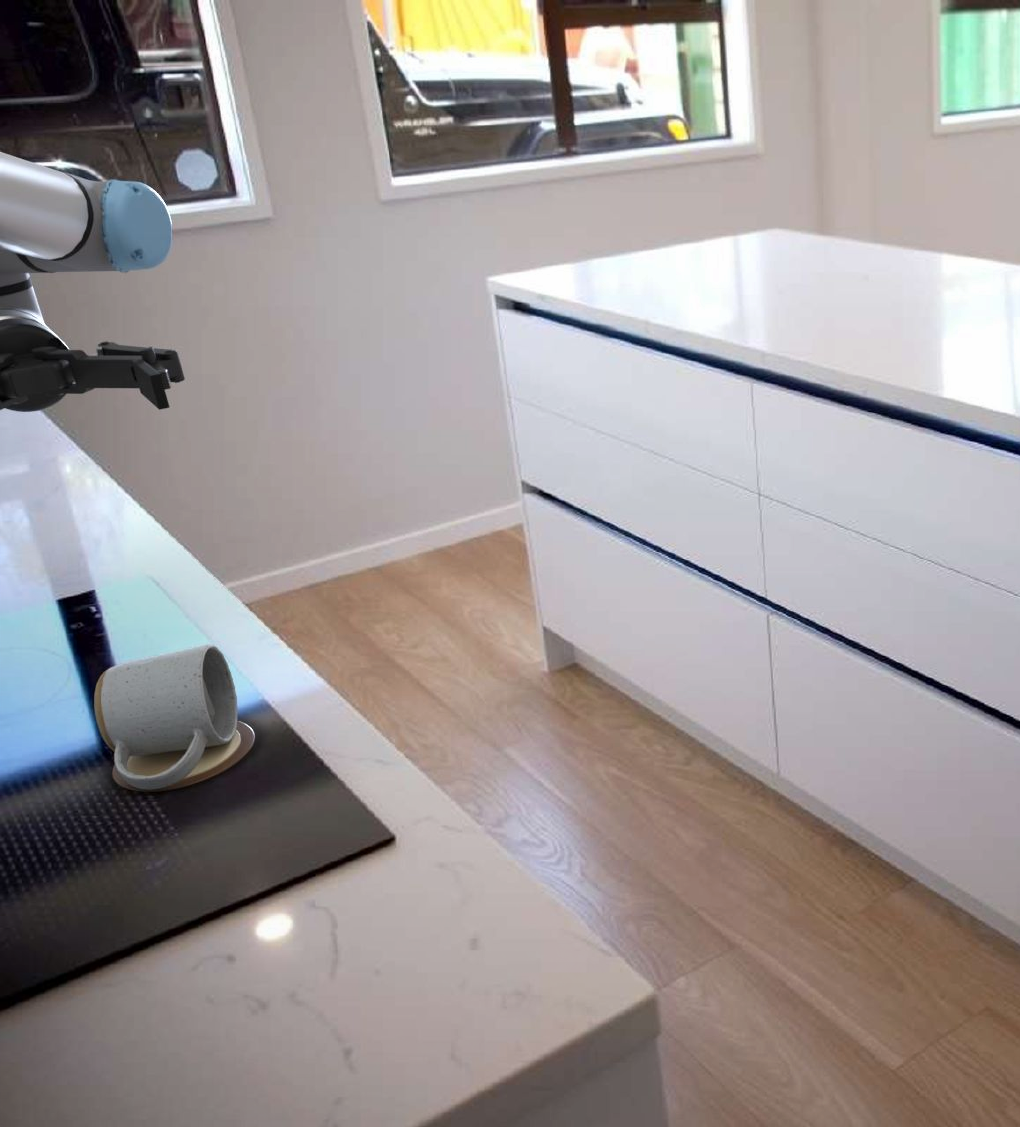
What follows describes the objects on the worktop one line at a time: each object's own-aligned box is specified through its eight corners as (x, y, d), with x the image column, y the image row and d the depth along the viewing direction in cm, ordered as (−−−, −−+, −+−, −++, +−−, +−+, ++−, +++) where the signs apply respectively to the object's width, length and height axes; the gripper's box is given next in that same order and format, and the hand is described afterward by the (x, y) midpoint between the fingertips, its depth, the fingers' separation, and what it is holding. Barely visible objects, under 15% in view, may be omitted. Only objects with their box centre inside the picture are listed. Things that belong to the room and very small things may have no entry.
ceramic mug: (135, 727, 102) (106, 643, 98) (244, 710, 103) (219, 626, 100) (97, 804, 92) (63, 714, 89) (218, 784, 94) (189, 694, 91)
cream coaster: (87, 801, 94) (83, 790, 94) (157, 729, 103) (154, 719, 103) (220, 797, 94) (216, 786, 93) (278, 725, 103) (275, 715, 103)
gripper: (183, 372, 119) (248, 420, 103) (-141, 437, 105) (-122, 504, 90) (161, 291, 116) (224, 329, 100) (-176, 347, 102) (-162, 401, 87)
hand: (61, 412), depth 95 cm, fingers open, 13 cm apart
